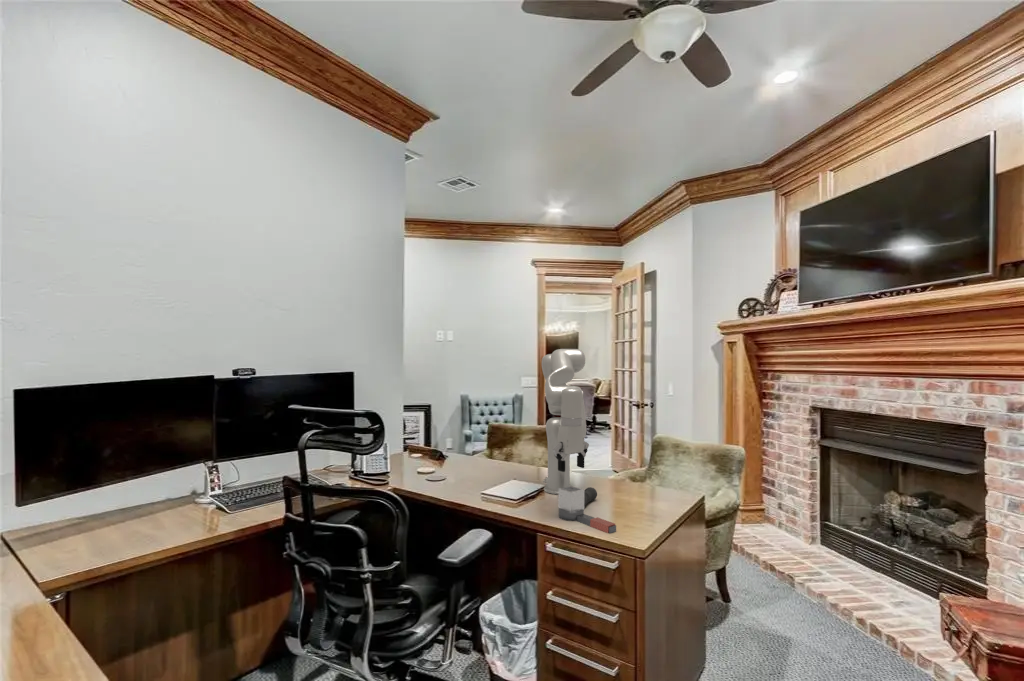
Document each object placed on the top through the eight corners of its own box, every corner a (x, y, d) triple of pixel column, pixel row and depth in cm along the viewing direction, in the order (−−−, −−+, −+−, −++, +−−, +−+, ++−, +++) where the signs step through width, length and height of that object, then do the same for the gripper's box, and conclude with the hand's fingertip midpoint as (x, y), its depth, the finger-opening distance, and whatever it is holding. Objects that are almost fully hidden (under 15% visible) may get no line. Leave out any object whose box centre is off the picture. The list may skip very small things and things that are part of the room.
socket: (558, 507, 176) (558, 488, 176) (571, 504, 180) (571, 485, 180) (571, 512, 171) (571, 492, 171) (584, 509, 175) (584, 489, 175)
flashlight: (585, 498, 200) (585, 485, 200) (598, 500, 197) (598, 487, 197) (570, 507, 187) (570, 493, 187) (583, 510, 184) (583, 495, 184)
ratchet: (621, 529, 163) (621, 508, 163) (603, 535, 157) (603, 513, 157) (571, 511, 182) (571, 492, 182) (553, 516, 176) (553, 496, 176)
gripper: (580, 418, 185) (580, 463, 185) (546, 422, 174) (546, 470, 174) (595, 421, 179) (595, 467, 179) (561, 425, 168) (561, 475, 168)
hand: (571, 469), depth 176 cm, fingers open, 9 cm apart
